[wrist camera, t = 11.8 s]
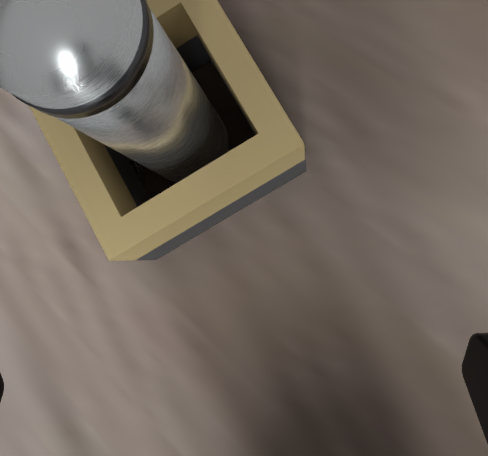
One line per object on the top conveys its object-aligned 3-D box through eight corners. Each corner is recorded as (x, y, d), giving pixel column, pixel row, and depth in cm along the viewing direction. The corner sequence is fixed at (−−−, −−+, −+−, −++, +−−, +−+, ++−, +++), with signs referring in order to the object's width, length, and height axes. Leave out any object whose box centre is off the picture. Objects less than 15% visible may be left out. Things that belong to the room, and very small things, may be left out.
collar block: (305, 170, 21) (304, 143, 16) (155, 260, 21) (108, 260, 16) (219, 27, 22) (192, -41, 17) (79, 117, 23) (14, 77, 18)
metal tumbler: (247, 138, 21) (167, -11, 9) (191, 202, 21) (43, 135, 10) (186, 86, 22) (39, -116, 10) (132, 148, 22) (-76, 22, 10)
